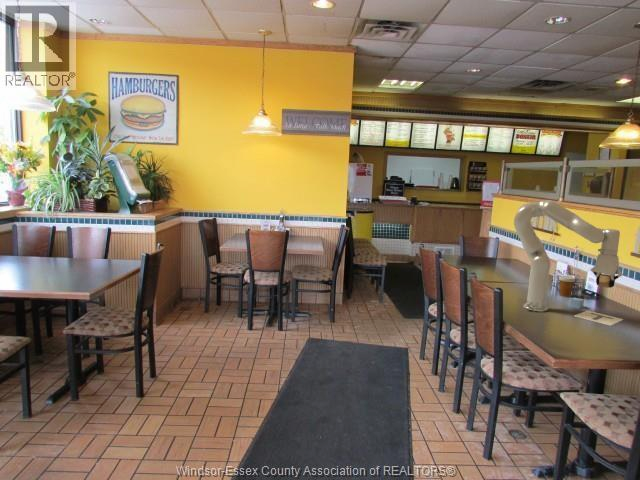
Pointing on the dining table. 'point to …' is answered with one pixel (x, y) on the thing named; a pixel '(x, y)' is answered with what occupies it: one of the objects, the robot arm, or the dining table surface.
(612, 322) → the letter mat
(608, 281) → the wood cylinder
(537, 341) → the dining table surface
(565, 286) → the disposable coffee cup
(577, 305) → the slate cube
